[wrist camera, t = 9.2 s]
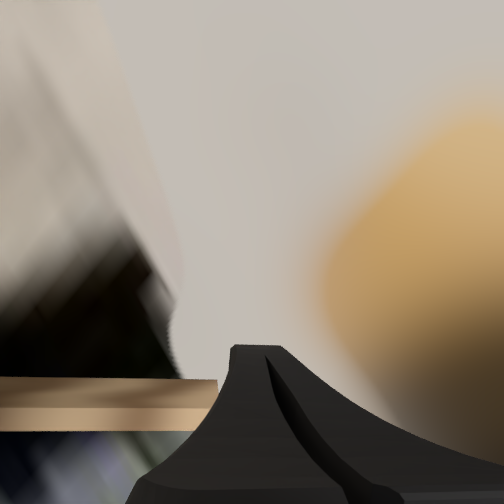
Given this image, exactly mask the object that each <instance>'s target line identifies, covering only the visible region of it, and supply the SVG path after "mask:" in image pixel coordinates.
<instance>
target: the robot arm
mask: <svg viewBox="0 0 504 504" xmlns="http://www.w3.org/2000/svg"><path fill="white" fill-rule="evenodd" d="M125 504H504V466H502V465H499V464H496V463H492V462H488V461H485V460H481V459H478V458H475V457H471V456H468V455H465V454H462V453H459V452H456V451H454V450H451V449H448V448H446V447H442V446H440V445H437V444H435V443H432V442H430V441H427V440H425V439H422V438H420V437H418V436H415V435H413V434H411V433H409V432H407V431H405V430H403V429H400V428H398V427H396V426H394V425H392V424H390V423H388V422H386V421H384V420H382V419H380V418H379V417H377V416H375V415H373V414H372V413H370V412H368V411H367V410H365V409H363V408H361V407H360V406H358V405H357V404H355V403H353V402H352V401H350V400H349V399H347V398H346V397H344V396H343V395H342V394H340V393H339V392H337V391H336V390H335V389H333V388H332V387H330V386H329V385H328V384H327V383H325V382H324V381H323V380H321V379H320V378H319V377H318V376H316V375H315V374H314V373H313V372H311V371H310V370H309V369H308V368H307V367H305V366H304V365H303V364H302V363H301V362H300V361H298V360H297V359H296V358H295V357H294V356H293V355H291V354H290V353H289V352H288V351H287V350H285V349H284V348H283V347H281V346H276V345H234V346H233V347H232V348H231V349H230V360H229V371H228V374H227V377H226V380H225V382H224V384H223V386H222V389H221V391H220V393H219V395H218V397H217V399H216V401H215V402H214V404H213V406H212V407H211V409H210V411H209V412H208V414H207V415H206V417H205V418H204V419H203V421H202V422H201V423H200V425H199V426H198V427H197V428H196V430H195V431H194V432H193V433H192V434H191V436H190V437H189V438H188V439H187V440H186V441H185V442H184V443H183V444H182V445H181V446H180V447H179V448H178V449H177V450H176V451H175V452H174V453H173V454H172V455H170V456H169V457H168V458H167V459H166V460H165V461H164V462H162V463H161V464H160V465H158V466H157V467H155V468H154V469H152V470H151V471H150V472H148V473H147V474H145V475H143V476H142V477H141V478H139V479H138V480H137V482H136V484H135V485H134V487H133V489H132V491H131V493H130V495H129V497H128V499H127V501H126V503H125Z"/></svg>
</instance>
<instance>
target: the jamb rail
mask: <svg viewBox="0 0 504 504" xmlns="http://www.w3.org/2000/svg"><path fill="white" fill-rule="evenodd" d="M218 395H219V394H218V384H217V380H197V379H195V380H194V379H125V378H52V377H0V431H195V430H196V428H197V427H198V426H199V425H200V423H201V422H202V421H203V419H204V418H205V417H206V415H207V414H208V412H209V411H210V409H211V407H212V406H213V404H214V402H215V401H216V399H217V397H218Z"/></svg>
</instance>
